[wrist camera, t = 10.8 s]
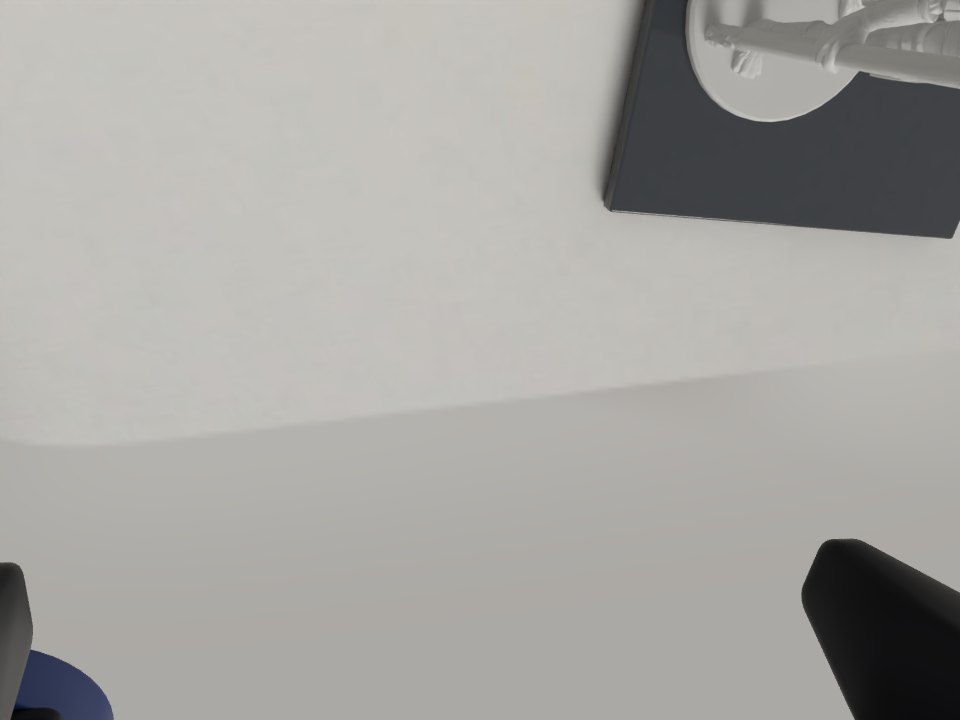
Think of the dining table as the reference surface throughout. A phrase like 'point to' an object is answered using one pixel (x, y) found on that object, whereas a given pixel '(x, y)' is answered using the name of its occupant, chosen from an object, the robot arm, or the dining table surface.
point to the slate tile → (783, 150)
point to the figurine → (816, 49)
